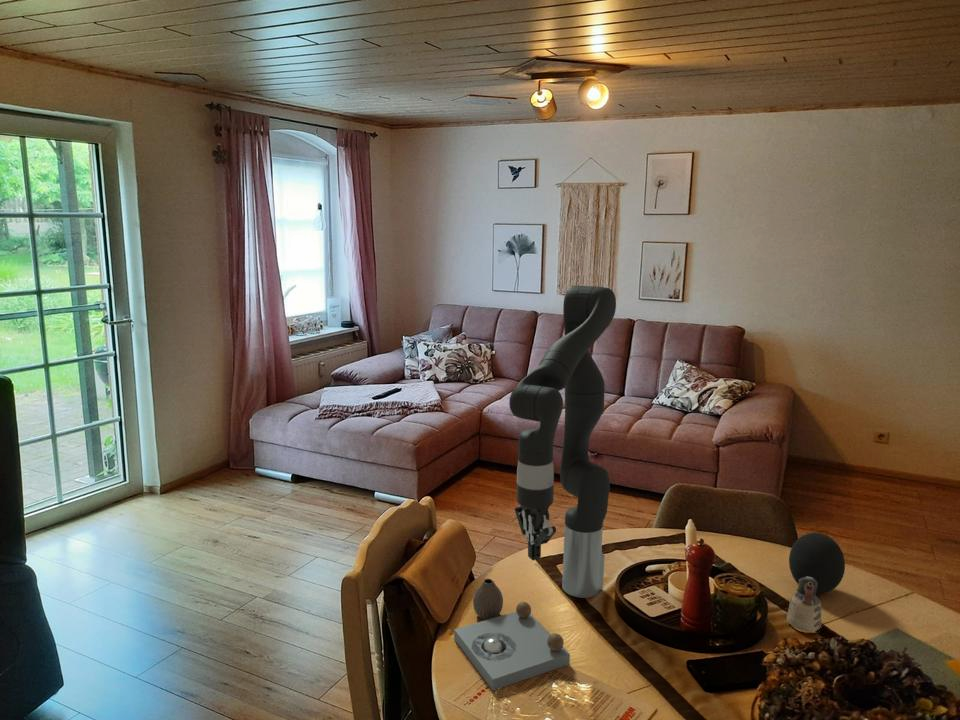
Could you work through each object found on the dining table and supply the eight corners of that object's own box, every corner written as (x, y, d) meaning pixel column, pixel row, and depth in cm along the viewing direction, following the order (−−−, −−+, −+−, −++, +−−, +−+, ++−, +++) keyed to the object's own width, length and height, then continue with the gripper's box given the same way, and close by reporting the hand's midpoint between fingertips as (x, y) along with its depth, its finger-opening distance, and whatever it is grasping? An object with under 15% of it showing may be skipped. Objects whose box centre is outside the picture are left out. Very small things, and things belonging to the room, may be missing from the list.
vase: (499, 626, 152) (500, 591, 151) (470, 622, 154) (470, 587, 152) (504, 609, 159) (505, 575, 157) (476, 605, 160) (476, 571, 158)
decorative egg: (794, 601, 163) (801, 544, 160) (780, 575, 175) (786, 521, 172) (848, 606, 162) (856, 549, 158) (830, 579, 173) (838, 525, 170)
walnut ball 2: (557, 642, 143) (558, 628, 142) (566, 651, 140) (567, 637, 139) (543, 647, 141) (544, 632, 140) (552, 656, 138) (553, 641, 137)
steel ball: (484, 633, 142) (478, 649, 143) (490, 645, 139) (484, 662, 139) (500, 634, 144) (494, 650, 144) (507, 646, 140) (501, 663, 141)
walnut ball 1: (526, 610, 154) (526, 597, 153) (533, 618, 151) (534, 605, 150) (513, 614, 152) (513, 601, 152) (520, 622, 149) (521, 608, 149)
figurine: (821, 621, 155) (827, 574, 153) (820, 638, 149) (826, 589, 147) (787, 613, 159) (793, 566, 156) (785, 628, 153) (790, 580, 150)
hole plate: (525, 618, 155) (525, 608, 155) (569, 664, 140) (569, 653, 139) (454, 639, 147) (454, 629, 147) (492, 690, 132) (492, 679, 131)
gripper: (569, 488, 133) (567, 568, 137) (533, 466, 145) (532, 540, 149) (536, 496, 130) (535, 577, 134) (503, 473, 141) (503, 548, 145)
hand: (534, 557), depth 141 cm, fingers closed
